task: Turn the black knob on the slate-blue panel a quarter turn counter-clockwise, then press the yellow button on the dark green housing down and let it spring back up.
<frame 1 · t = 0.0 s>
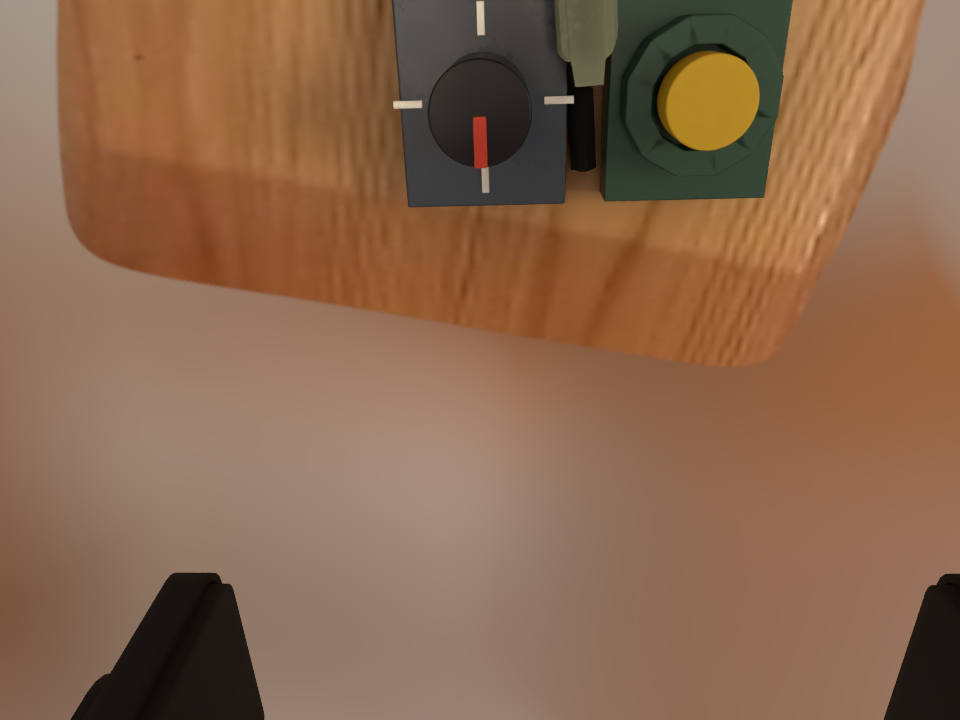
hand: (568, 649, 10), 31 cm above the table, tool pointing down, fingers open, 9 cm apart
trigger housing: (683, 90, 36), on the table
nozzle panel: (484, 96, 36), on the table
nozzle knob: (481, 108, 32), point 5 cm above the table, hinge at 0.0°
trigger: (706, 100, 31), point 5 cm above the table, slide at 0.1 cm
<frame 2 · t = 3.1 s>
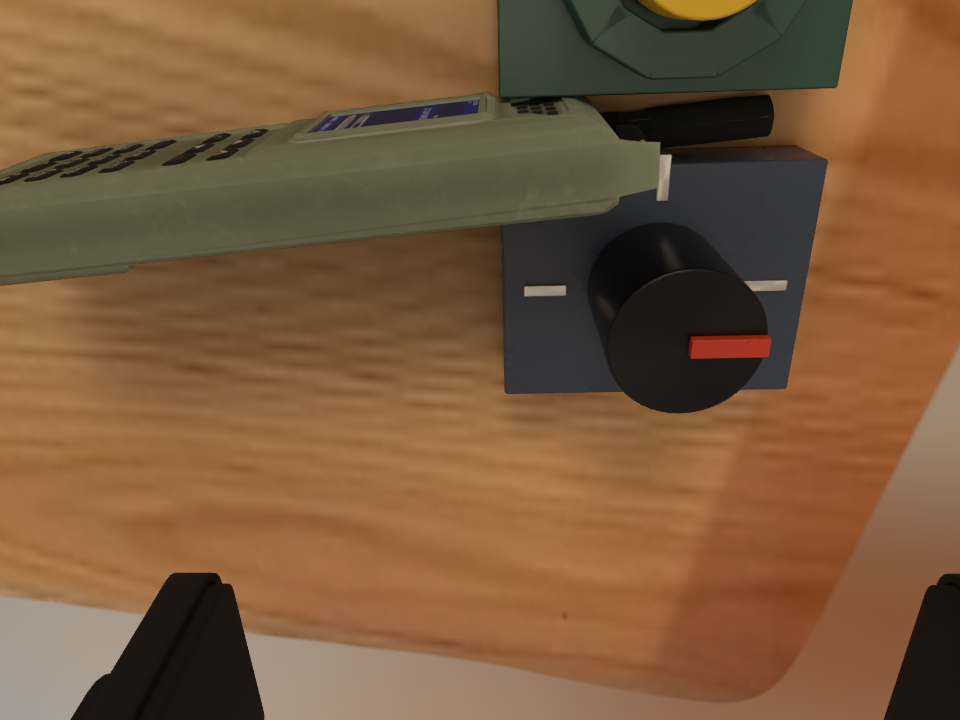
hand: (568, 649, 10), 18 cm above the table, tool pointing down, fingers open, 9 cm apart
handheld radio: (393, 151, 25), on the table, touching nozzle panel, trigger housing
nozzle panel: (639, 262, 26), on the table
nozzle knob: (670, 315, 21), point 5 cm above the table, hinge at 0.0°
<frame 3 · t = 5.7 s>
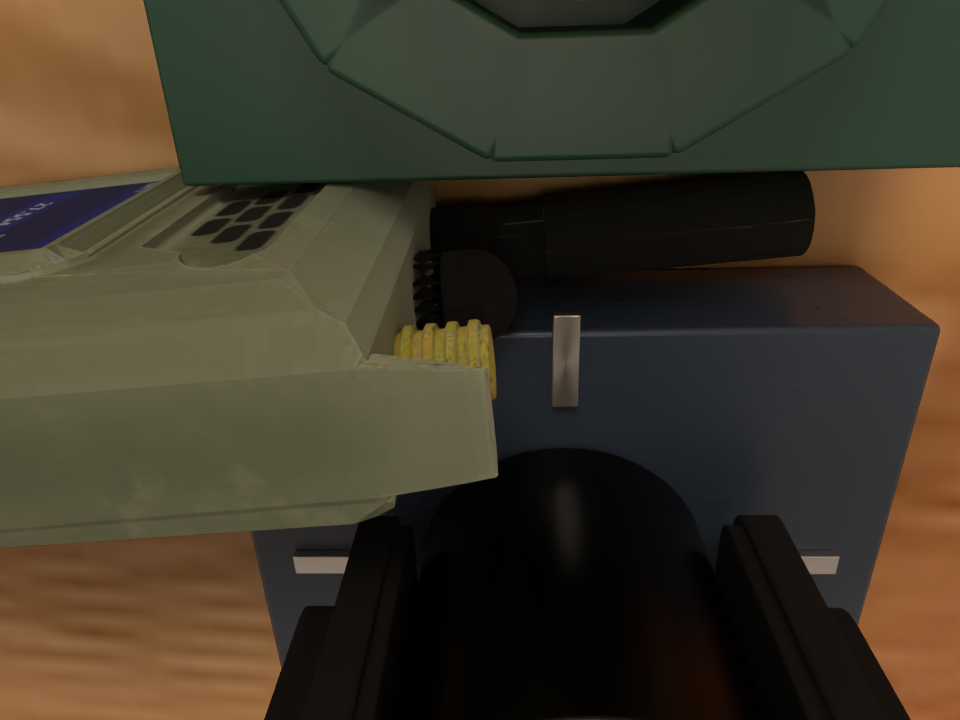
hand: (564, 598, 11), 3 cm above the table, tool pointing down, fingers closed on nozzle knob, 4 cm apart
handheld radio: (74, 262, 13), on the table, touching nozzle panel, trigger housing
nozzle panel: (552, 468, 14), on the table
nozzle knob: (572, 689, 9), point 5 cm above the table, hinge at 0.0°, touching gripper
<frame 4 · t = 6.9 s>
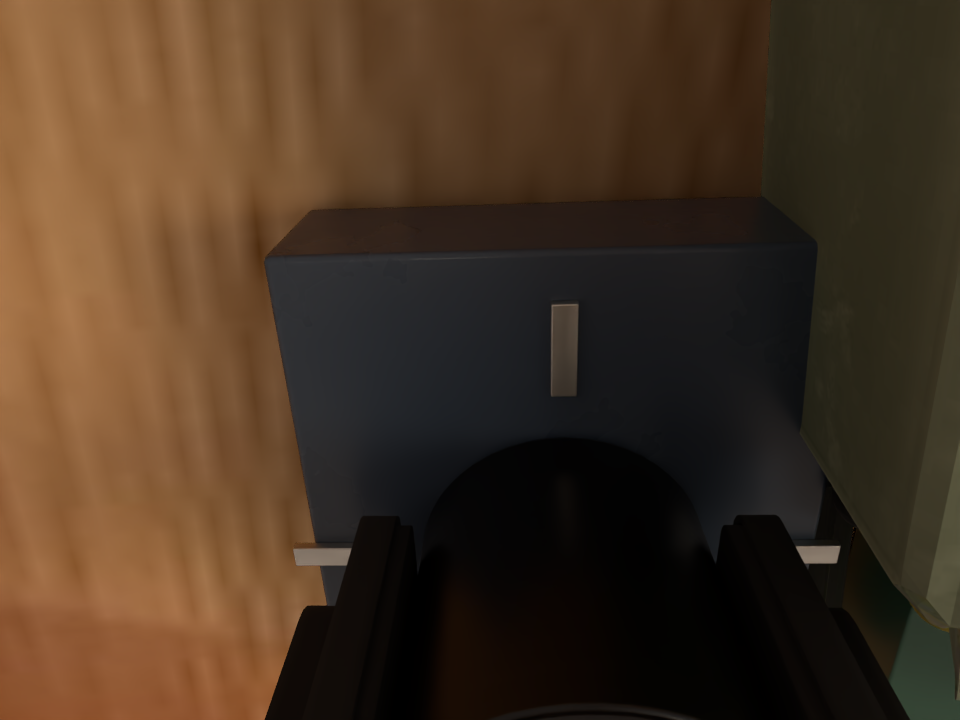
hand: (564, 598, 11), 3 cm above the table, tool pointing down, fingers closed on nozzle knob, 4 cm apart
nozzle panel: (552, 460, 14), on the table
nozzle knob: (573, 679, 9), point 5 cm above the table, hinge at 88.8°, touching gripper
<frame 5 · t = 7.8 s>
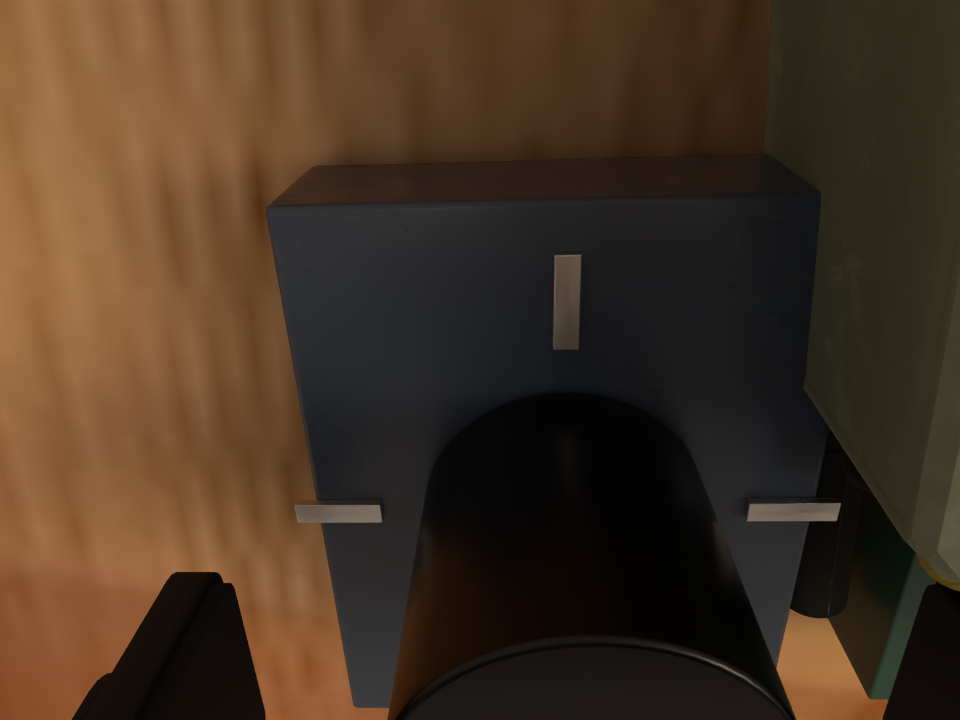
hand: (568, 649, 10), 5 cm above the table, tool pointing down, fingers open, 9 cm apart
nozzle panel: (553, 423, 14), on the table
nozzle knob: (574, 628, 9), point 5 cm above the table, hinge at 88.6°
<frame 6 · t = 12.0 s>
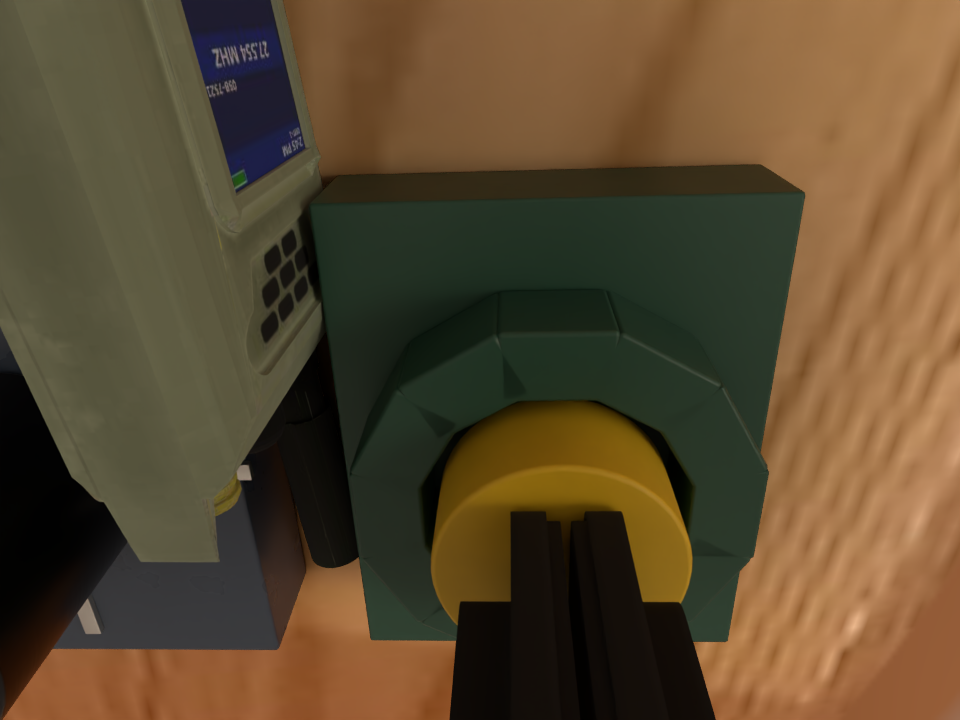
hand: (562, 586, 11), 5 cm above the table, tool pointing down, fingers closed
trigger housing: (544, 399, 16), on the table
nozzle panel: (101, 404, 16), on the table
trigger: (556, 530, 12), point 4 cm above the table, slide at -0.2 cm, touching gripper
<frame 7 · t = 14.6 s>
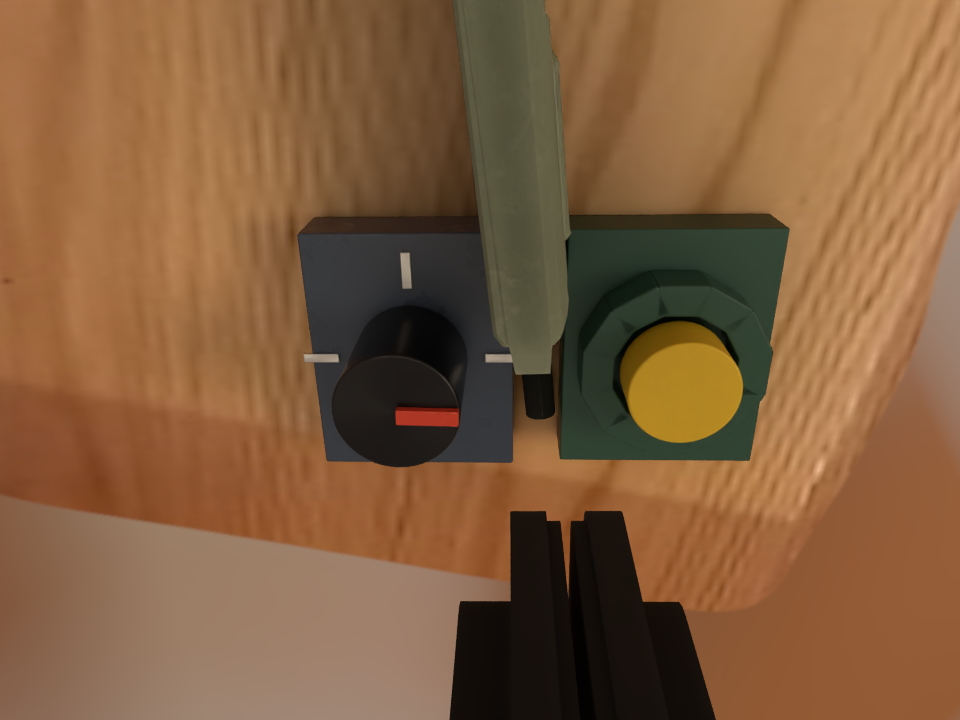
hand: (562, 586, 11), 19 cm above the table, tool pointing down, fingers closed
trigger housing: (655, 331, 30), on the table
handheld radio: (512, 110, 27), on the table, touching nozzle panel, trigger housing
nozzle panel: (419, 331, 30), on the table
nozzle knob: (403, 385, 26), point 5 cm above the table, hinge at 88.6°
trigger: (678, 381, 26), point 5 cm above the table, slide at 0.1 cm
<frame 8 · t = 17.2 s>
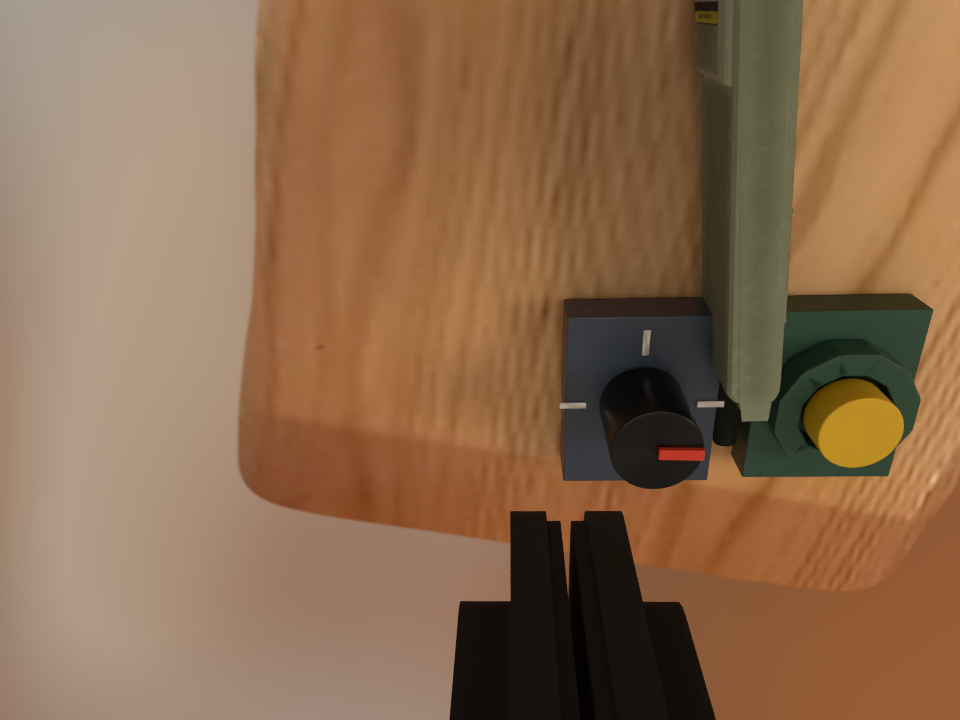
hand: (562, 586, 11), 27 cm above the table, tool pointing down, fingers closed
trigger housing: (815, 379, 39), on the table
handheld radio: (720, 220, 36), on the table, touching nozzle panel, trigger housing
nozzle panel: (633, 381, 40), on the table
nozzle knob: (649, 428, 35), point 5 cm above the table, hinge at 88.6°
trigger: (851, 423, 35), point 5 cm above the table, slide at 0.1 cm
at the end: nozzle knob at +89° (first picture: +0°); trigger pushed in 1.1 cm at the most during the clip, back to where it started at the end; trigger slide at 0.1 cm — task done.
